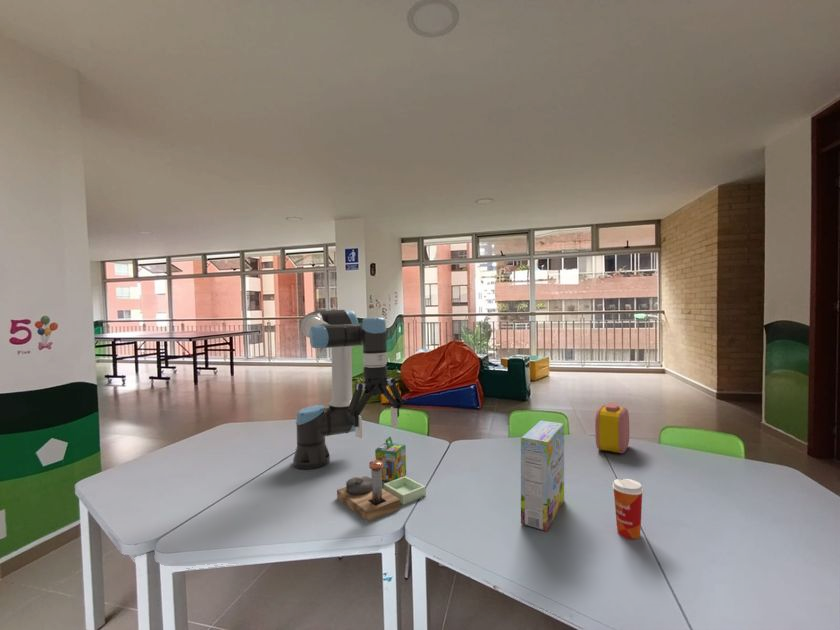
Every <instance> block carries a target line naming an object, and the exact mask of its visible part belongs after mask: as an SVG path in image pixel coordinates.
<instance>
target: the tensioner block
mask: <svg viewBox="0 0 840 630" xmlns="http://www.w3.org/2000/svg"><path fill="white" fill-rule="evenodd" d="M345 485H346V486H344V487H341V488H339V489H337V490H336V496H337V497H336V499H337V500H339V501H340V502H341V503H342V504H344V505H345V506H347V508H349V509H351V510H352V512H354V513H355V514H357V515H359V517H361V518H362V519H363V520H365V521H366V522H368V523H369V522H371V521H374V520H376V519H379V518H381V517H383V516H386V515H388V514H390V513H392V512H395V511H398V510H400V509H401V503H400V499H399V498H397V497H395V496H394V495H392V494H390V493H389V492H387V491H385V490H384V488H382V503H381V504H378V505H376V506H375V505H374V504H372V477H368V476H362V475H359V476H356V477H351V478H349V479H348V480H347V481H346V482H345ZM385 514H386V515H385Z"/></svg>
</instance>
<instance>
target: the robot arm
mask: <svg viewBox="0 0 840 630" xmlns="http://www.w3.org/2000/svg"><path fill="white" fill-rule="evenodd" d="M386 322H387V321H386V319H385V318H384V317H364V318H362V322H360V323H359V320H358V317H357V314H356V313H355V311H354V310H352V309H351V310H350V309H333V310H332V309H330V310H329V309H328V310H326V309H325V310H321V309H320V310H315V311H312V312H310V313H308V314H305V315H304V316H303V317H302V319H301V321H300V323H299V330H300V332H301V333H302V335H303V336H305V337H306V338H309V344H310V346H311V348H313V349H327V348H331V393H332V397H331V400H330V401H329V403H328V407H326V408H325V406H324V405H323V404H316V405H309V406H306V407H304V408H301V409H300V410H298V411H297V413H296V414H295V424H296V448H295V452H294V455H293V458H292V466H293V467H294V468H295V469H300V470H314V469H317V468H321V467H325V466H326V465H329V463H330V461H331V455H330V451H329V450H328V449H329V448H328V446H327V444H326V437H330V436H337V435H341V434H349V433H353V432H355V437H357V438H359V439H361V438H363V418H362V417H363V416H361V413H362V412H363V410H364V409H365V407H366V405H367V403H368V401H369V400H370V399H371V398H372V397H373V396H374V397H376V396H378V395H379V396H381V395H383V397H384V398H385V399H387V401H388V402H389V403H390V405H391V407H390V427H391V428H393V429H398V428H399V427H398V426H399V420H398V418H399V416H400V409H401V408H402V406H403V405H404V404H405V402H404V400H403V399H404V398H403V397H402V395H401V393H400V390H399V388H398V387H397V385H396V378H392V377H388V366H387V364H388V359H387V358H388V356H387V355H388V354H387V329H388V328H387V324H386ZM359 346H362V353H363V354H362V361H363V366H364V367H363V378H364V382H363V383H359V382H356V383H355V385H354V392H353V373H352V372H353V370H352V369H353V368H352V367H353V365H352V363H353V362H352V360H353V359H352V347H359ZM387 377H388V378H387ZM387 386H388V387H389V389H390V391H391V393H390V391H389V390H388V388H387ZM364 389H365V390H364Z"/></svg>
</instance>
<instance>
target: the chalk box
mask: <svg viewBox="0 0 840 630" xmlns="http://www.w3.org/2000/svg"><path fill="white" fill-rule="evenodd" d="M406 451H407V450H406V444H399V443H395V442H393V440H392V437H391V436H388V437H387V438H386V439H385V442H384V443H383V444H381V445H380V446H378V447H377V448H375V451H374V452H375V460H380V461H383V468H381V470H382V482H383V481H384V482H385V481H386V482H390V481H393V480H396V479H399V478H401V477H404V476H406V474H407V457H406V456H407V453H406Z"/></svg>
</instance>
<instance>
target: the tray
mask: <svg viewBox="0 0 840 630" xmlns="http://www.w3.org/2000/svg"><path fill="white" fill-rule="evenodd" d="M382 487H383V489H384V490H385V491H387V492H389V493H390V494H392V495H394V496H395V497H397V498H399V499H400V505H407V504H409V503H412V502H413V501H417V500H418V499H421V498H423V496H424V497H426V496H427V490H426V489H427V487H426V485H423V484H422V483H420V482H418V481H415V480H414V479H412V478H410V477H408V476H406V475H404V476H403V477H401V478H399V479H396V480H393V481H387V482H385V483H382Z"/></svg>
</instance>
